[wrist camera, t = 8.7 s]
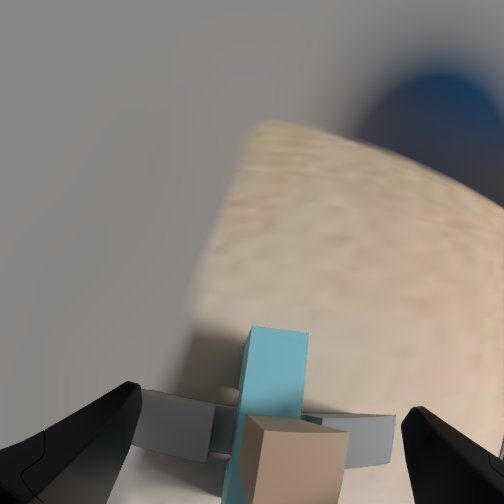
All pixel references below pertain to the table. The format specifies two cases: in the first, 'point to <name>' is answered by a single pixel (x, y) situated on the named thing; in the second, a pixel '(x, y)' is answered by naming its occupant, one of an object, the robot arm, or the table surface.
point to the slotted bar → (223, 424)
